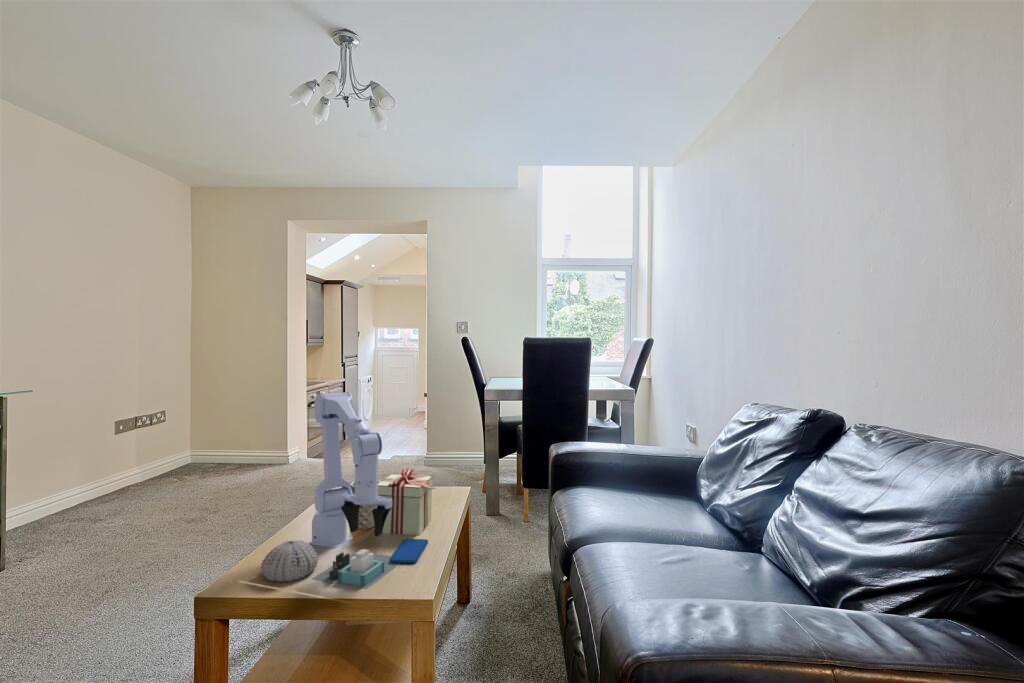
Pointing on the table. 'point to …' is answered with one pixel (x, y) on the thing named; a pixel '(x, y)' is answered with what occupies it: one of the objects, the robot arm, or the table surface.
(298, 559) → the sea urchin shell
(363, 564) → the connector plug
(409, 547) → the smartphone
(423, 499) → the gift box
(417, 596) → the table surface
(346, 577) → the board
